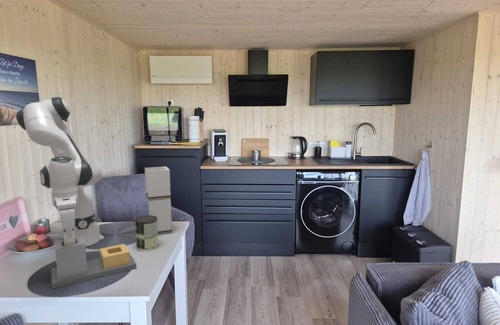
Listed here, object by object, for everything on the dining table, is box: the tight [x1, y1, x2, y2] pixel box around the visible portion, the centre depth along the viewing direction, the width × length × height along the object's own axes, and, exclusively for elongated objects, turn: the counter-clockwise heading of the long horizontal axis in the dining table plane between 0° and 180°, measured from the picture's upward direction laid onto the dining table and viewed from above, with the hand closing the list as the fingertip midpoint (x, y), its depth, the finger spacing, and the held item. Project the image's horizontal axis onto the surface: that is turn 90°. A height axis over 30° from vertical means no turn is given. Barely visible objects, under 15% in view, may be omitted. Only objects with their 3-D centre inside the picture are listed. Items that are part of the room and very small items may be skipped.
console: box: [50, 236, 137, 289], centre depth 132 cm, size 14×30×14 cm, turn 122°
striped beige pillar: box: [144, 166, 173, 236], centre depth 175 cm, size 11×11×35 cm
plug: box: [62, 228, 76, 246], centre depth 126 cm, size 4×4×10 cm
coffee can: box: [134, 214, 159, 251], centre depth 156 cm, size 10×10×14 cm
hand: (68, 233), depth 126 cm, fingers open, 8 cm apart
